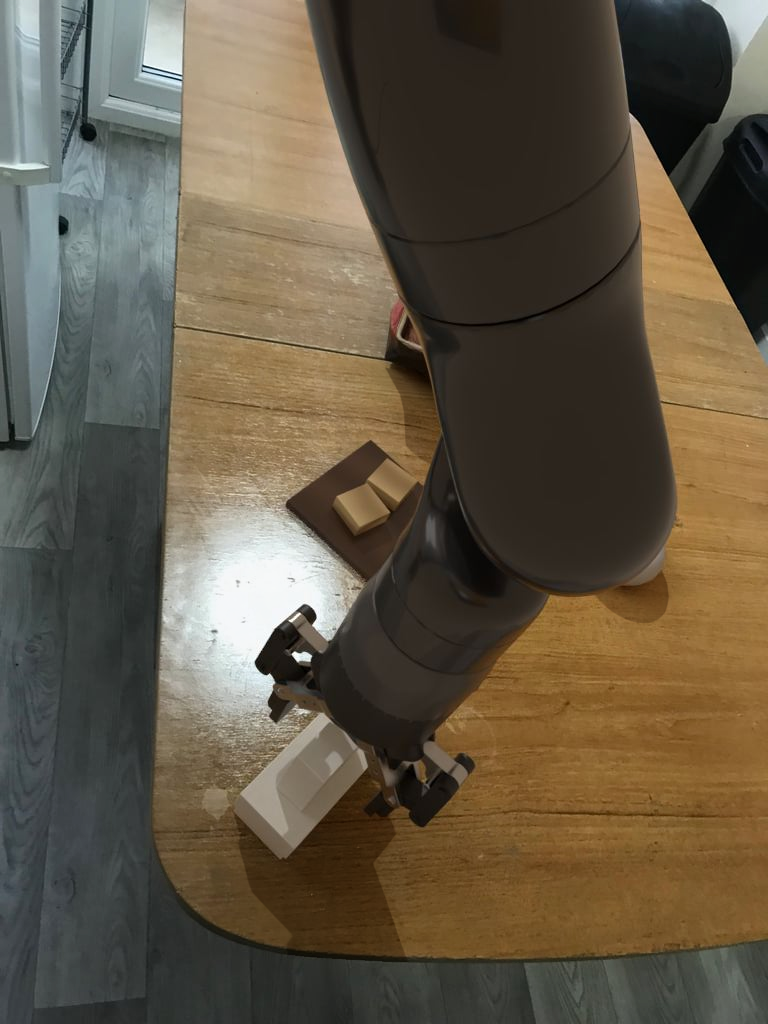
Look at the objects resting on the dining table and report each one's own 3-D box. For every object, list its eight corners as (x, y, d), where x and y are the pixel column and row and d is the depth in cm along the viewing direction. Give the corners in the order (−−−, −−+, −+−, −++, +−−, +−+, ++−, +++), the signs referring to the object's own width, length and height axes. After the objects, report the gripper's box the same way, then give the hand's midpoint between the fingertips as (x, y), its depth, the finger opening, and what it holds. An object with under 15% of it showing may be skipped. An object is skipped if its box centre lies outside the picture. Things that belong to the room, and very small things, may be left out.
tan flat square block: (354, 536, 74) (359, 527, 73) (331, 505, 75) (336, 496, 74) (385, 521, 76) (390, 512, 75) (362, 492, 77) (367, 482, 76)
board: (418, 628, 71) (421, 624, 71) (284, 505, 74) (286, 500, 74) (492, 553, 79) (495, 549, 78) (368, 444, 82) (370, 439, 81)
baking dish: (353, 382, 89) (385, 325, 80) (408, 274, 98) (442, 213, 90) (471, 446, 91) (515, 397, 82) (514, 334, 100) (557, 280, 91)
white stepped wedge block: (370, 763, 63) (417, 712, 55) (280, 864, 57) (318, 823, 49) (323, 716, 64) (362, 660, 56) (228, 811, 58) (258, 762, 50)
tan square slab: (393, 511, 77) (399, 502, 76) (362, 488, 77) (367, 479, 76) (412, 489, 79) (418, 480, 78) (382, 467, 79) (387, 457, 78)
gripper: (262, 596, 42) (211, 718, 55) (476, 800, 40) (371, 880, 52) (356, 520, 47) (289, 649, 59) (552, 698, 44) (440, 794, 57)
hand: (328, 757), depth 55 cm, fingers open, 8 cm apart
